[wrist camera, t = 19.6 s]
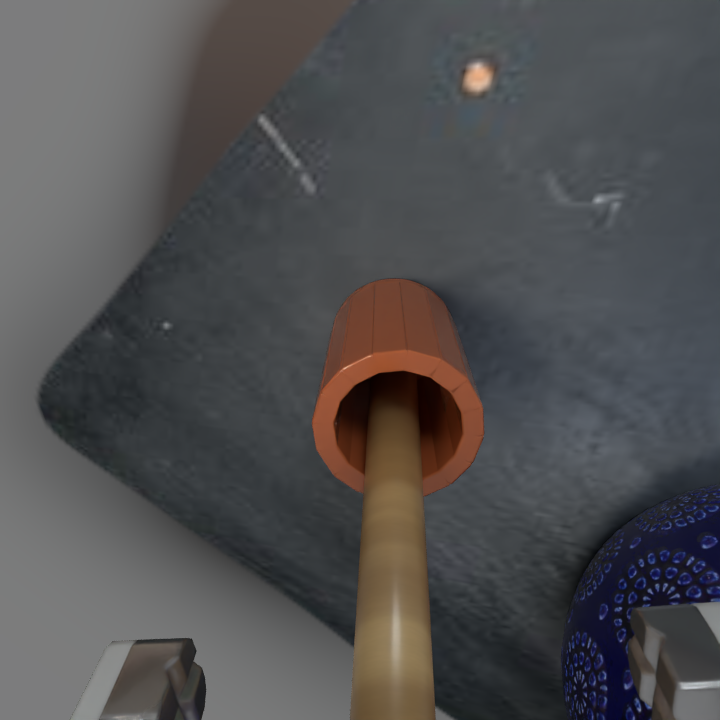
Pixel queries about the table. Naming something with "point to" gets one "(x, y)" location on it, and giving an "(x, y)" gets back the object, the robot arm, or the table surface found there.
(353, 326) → the crock
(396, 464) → the stick
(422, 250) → the table surface
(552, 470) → the table surface
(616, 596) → the planter
